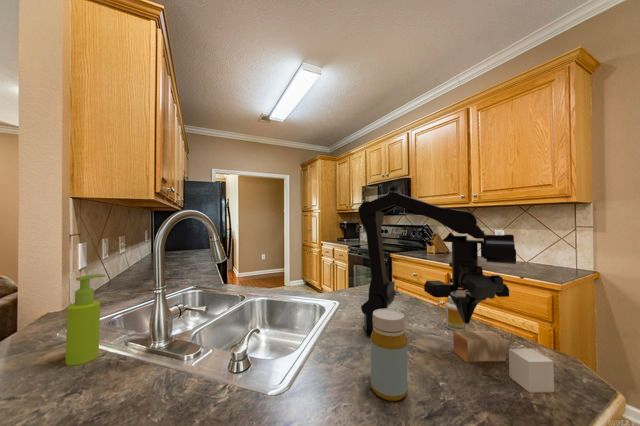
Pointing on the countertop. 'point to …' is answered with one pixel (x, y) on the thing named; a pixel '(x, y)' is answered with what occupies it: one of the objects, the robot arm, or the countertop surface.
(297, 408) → the countertop surface
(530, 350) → the grey block
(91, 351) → the soap dispenser
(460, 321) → the supplement bottle
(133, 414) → the countertop surface
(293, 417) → the countertop surface
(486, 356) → the birch block
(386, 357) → the bottle
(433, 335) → the countertop surface
